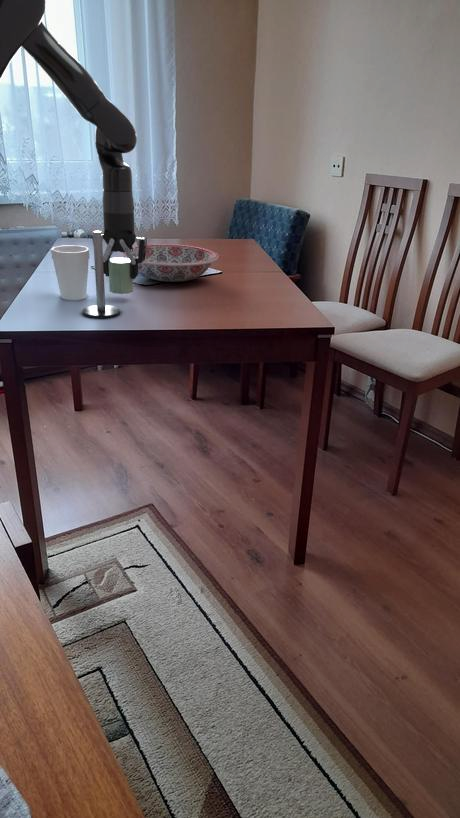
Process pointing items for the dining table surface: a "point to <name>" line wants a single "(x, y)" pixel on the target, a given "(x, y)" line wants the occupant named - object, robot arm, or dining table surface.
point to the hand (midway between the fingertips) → (121, 276)
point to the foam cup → (71, 270)
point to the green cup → (120, 276)
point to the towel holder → (100, 285)
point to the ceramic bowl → (174, 262)
